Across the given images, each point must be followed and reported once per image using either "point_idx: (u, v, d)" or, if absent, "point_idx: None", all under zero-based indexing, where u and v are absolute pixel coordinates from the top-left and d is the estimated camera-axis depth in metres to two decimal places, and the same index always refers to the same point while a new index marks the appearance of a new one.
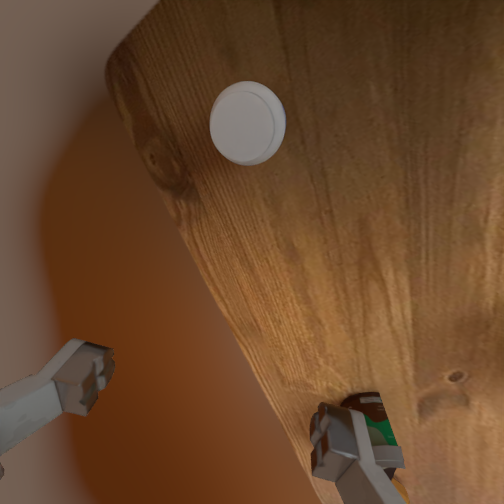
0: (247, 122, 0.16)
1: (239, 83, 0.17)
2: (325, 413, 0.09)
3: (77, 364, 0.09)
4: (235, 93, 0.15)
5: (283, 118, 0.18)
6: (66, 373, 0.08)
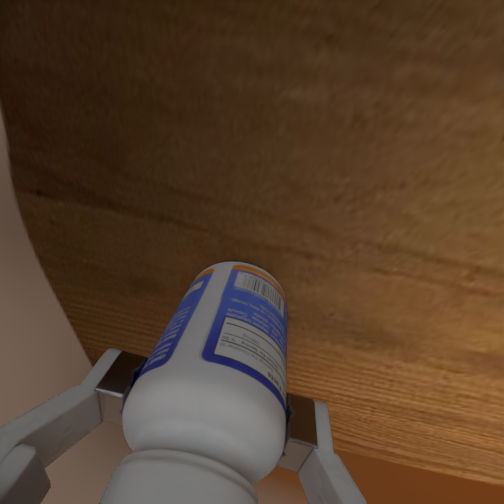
0: None
1: (122, 415, 0.08)
2: (288, 404, 0.09)
3: (117, 374, 0.09)
4: None
5: (219, 395, 0.07)
6: (108, 384, 0.08)
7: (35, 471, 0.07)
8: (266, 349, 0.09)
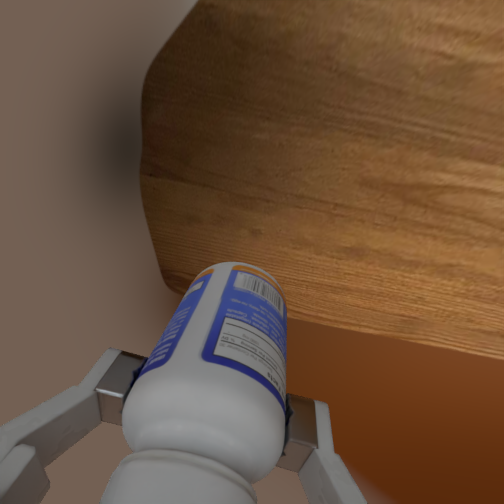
0: None
1: (122, 415, 0.08)
2: (289, 404, 0.09)
3: (117, 374, 0.09)
4: None
5: (218, 395, 0.07)
6: (107, 384, 0.08)
7: (34, 471, 0.07)
8: (265, 349, 0.09)
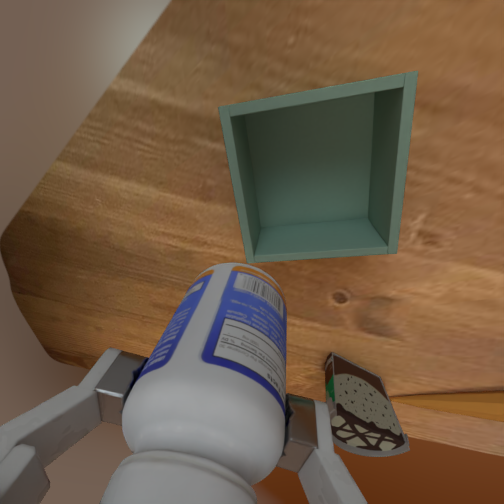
0: None
1: (122, 416, 0.08)
2: (289, 404, 0.09)
3: (117, 374, 0.09)
4: None
5: (218, 396, 0.07)
6: (107, 384, 0.08)
7: (35, 471, 0.07)
8: (265, 350, 0.09)
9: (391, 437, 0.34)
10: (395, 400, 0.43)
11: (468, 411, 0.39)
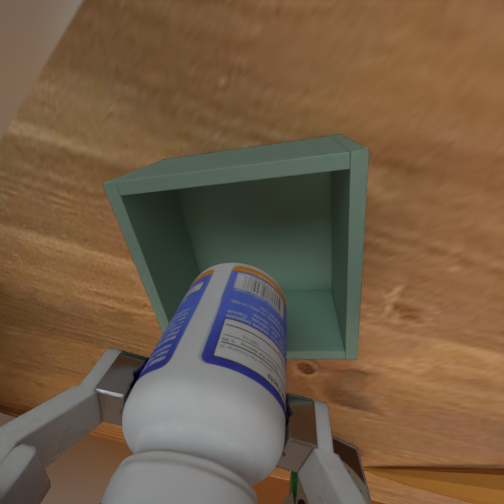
0: None
1: (122, 416, 0.08)
2: (288, 404, 0.09)
3: (117, 374, 0.09)
4: None
5: (219, 397, 0.07)
6: (108, 384, 0.08)
7: (35, 471, 0.07)
8: (266, 351, 0.09)
9: None
10: (375, 473, 0.38)
11: (457, 495, 0.34)
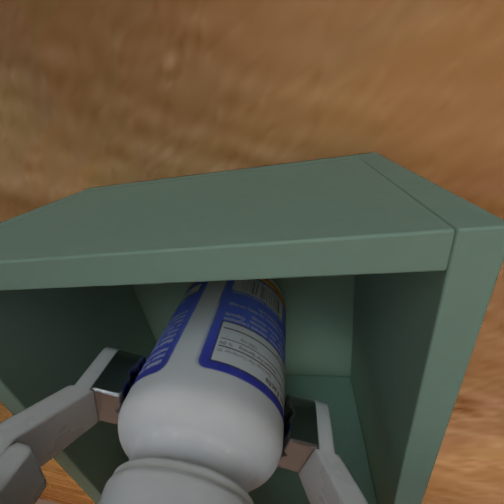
0: None
1: (118, 421, 0.08)
2: (289, 404, 0.09)
3: (114, 373, 0.09)
4: None
5: (215, 402, 0.07)
6: (104, 383, 0.08)
7: (30, 470, 0.07)
8: (264, 354, 0.09)
9: None
10: None
11: None
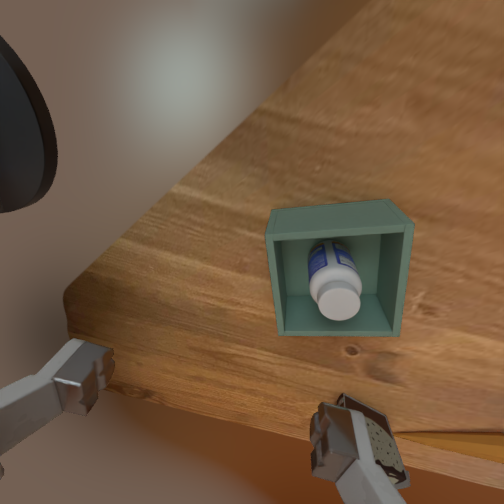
0: (338, 300, 0.25)
1: (313, 281, 0.28)
2: (325, 413, 0.09)
3: (77, 364, 0.09)
4: (321, 298, 0.25)
5: (347, 270, 0.26)
6: (66, 373, 0.08)
7: None
8: (353, 265, 0.29)
9: (394, 474, 0.40)
10: (399, 436, 0.49)
11: (463, 450, 0.44)
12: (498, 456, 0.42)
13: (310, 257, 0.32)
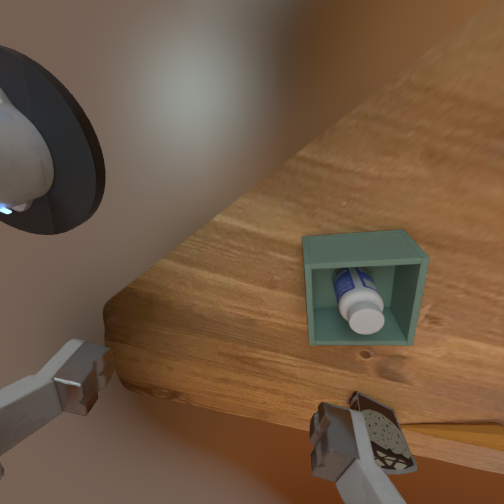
0: (366, 318, 0.31)
1: (342, 301, 0.33)
2: (325, 413, 0.09)
3: (77, 364, 0.09)
4: (352, 316, 0.31)
5: (372, 293, 0.32)
6: (66, 373, 0.08)
7: None
8: (375, 287, 0.34)
9: (403, 460, 0.46)
10: (404, 427, 0.55)
11: (461, 438, 0.51)
12: (490, 442, 0.49)
13: (336, 278, 0.37)
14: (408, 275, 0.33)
